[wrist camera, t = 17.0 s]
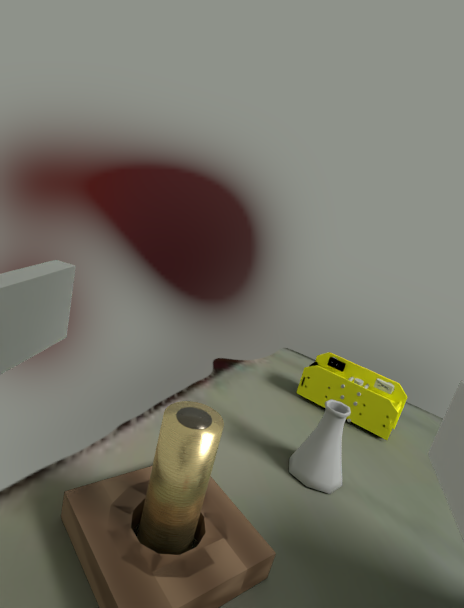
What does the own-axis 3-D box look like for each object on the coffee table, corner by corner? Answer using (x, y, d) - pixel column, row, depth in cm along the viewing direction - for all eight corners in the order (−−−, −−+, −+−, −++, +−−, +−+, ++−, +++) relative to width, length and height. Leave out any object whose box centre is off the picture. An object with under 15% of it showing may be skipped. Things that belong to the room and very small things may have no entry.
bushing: (172, 518, 42) (202, 396, 38) (199, 558, 39) (235, 429, 34) (126, 536, 39) (153, 406, 35) (151, 582, 35) (184, 442, 31)
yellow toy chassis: (393, 431, 70) (411, 387, 67) (384, 445, 65) (404, 398, 63) (307, 388, 77) (321, 347, 75) (294, 397, 73) (308, 354, 70)
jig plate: (186, 475, 48) (191, 454, 47) (267, 578, 38) (275, 553, 37) (60, 517, 39) (64, 491, 38) (123, 664, 29) (130, 634, 28)
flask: (347, 472, 56) (372, 408, 53) (334, 503, 50) (361, 432, 47) (297, 447, 59) (318, 384, 56) (279, 473, 53) (301, 404, 50)
